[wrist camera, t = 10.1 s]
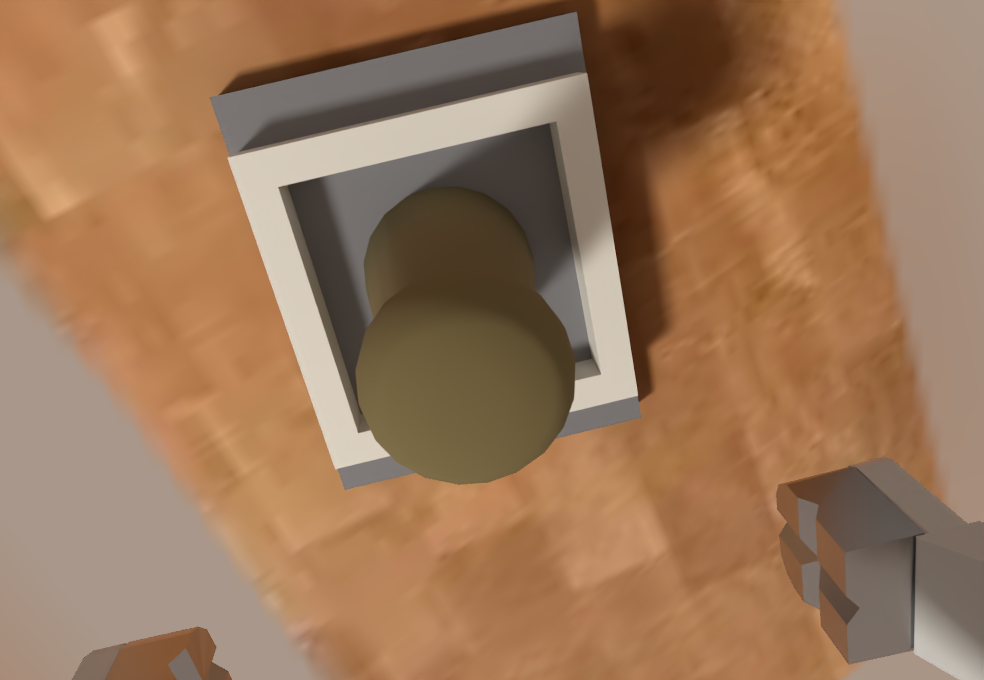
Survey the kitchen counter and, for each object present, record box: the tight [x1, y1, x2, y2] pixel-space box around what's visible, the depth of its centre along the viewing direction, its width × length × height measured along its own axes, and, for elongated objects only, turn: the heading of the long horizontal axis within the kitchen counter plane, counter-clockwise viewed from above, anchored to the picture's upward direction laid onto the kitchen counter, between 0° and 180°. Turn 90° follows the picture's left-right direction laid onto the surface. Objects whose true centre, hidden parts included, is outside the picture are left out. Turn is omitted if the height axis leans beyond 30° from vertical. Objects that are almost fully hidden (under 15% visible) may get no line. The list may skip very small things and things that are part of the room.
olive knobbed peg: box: [355, 187, 575, 485], centre depth 21 cm, size 6×6×11 cm
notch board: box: [210, 12, 641, 490], centre depth 26 cm, size 15×12×2 cm
